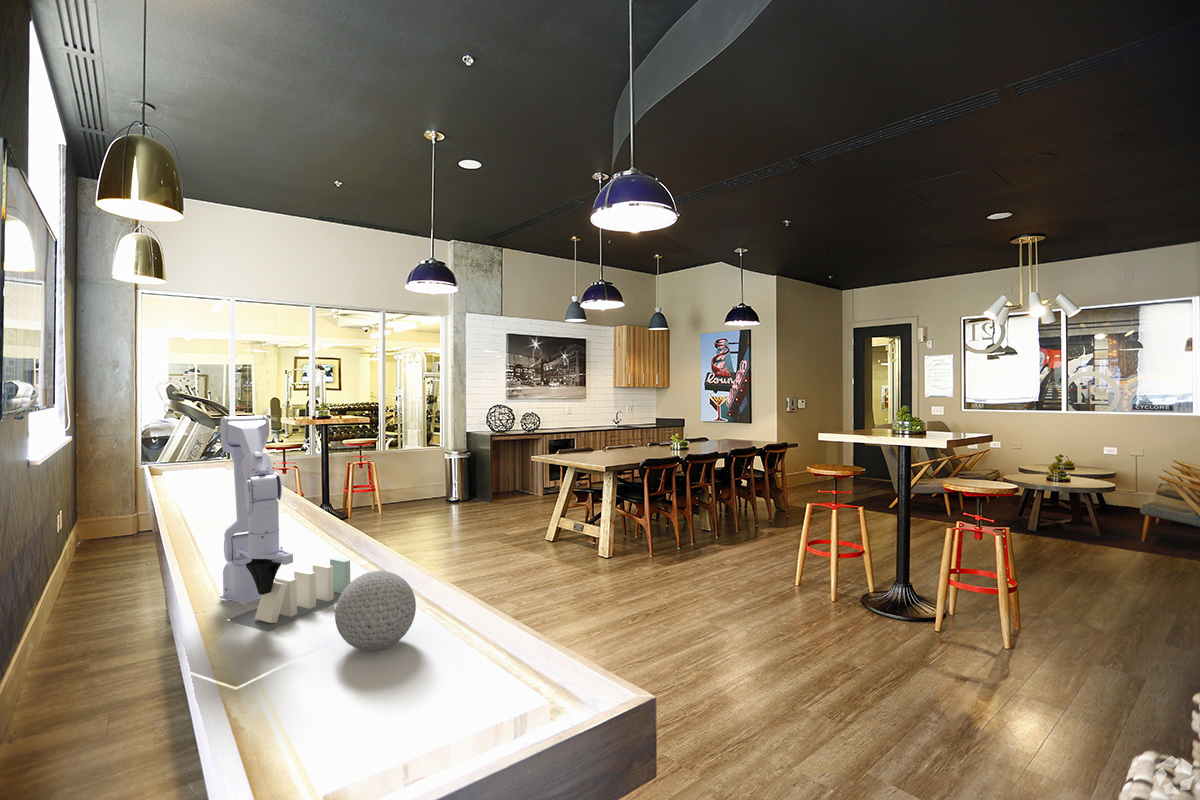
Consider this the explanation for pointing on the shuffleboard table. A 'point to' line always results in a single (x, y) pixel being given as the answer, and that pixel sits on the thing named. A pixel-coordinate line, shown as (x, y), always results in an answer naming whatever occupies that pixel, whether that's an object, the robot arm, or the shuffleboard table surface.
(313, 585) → the domino
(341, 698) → the shuffleboard table surface
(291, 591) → the domino
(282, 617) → the slate mat
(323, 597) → the domino
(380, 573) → the decorative ball
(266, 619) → the domino
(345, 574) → the domino
